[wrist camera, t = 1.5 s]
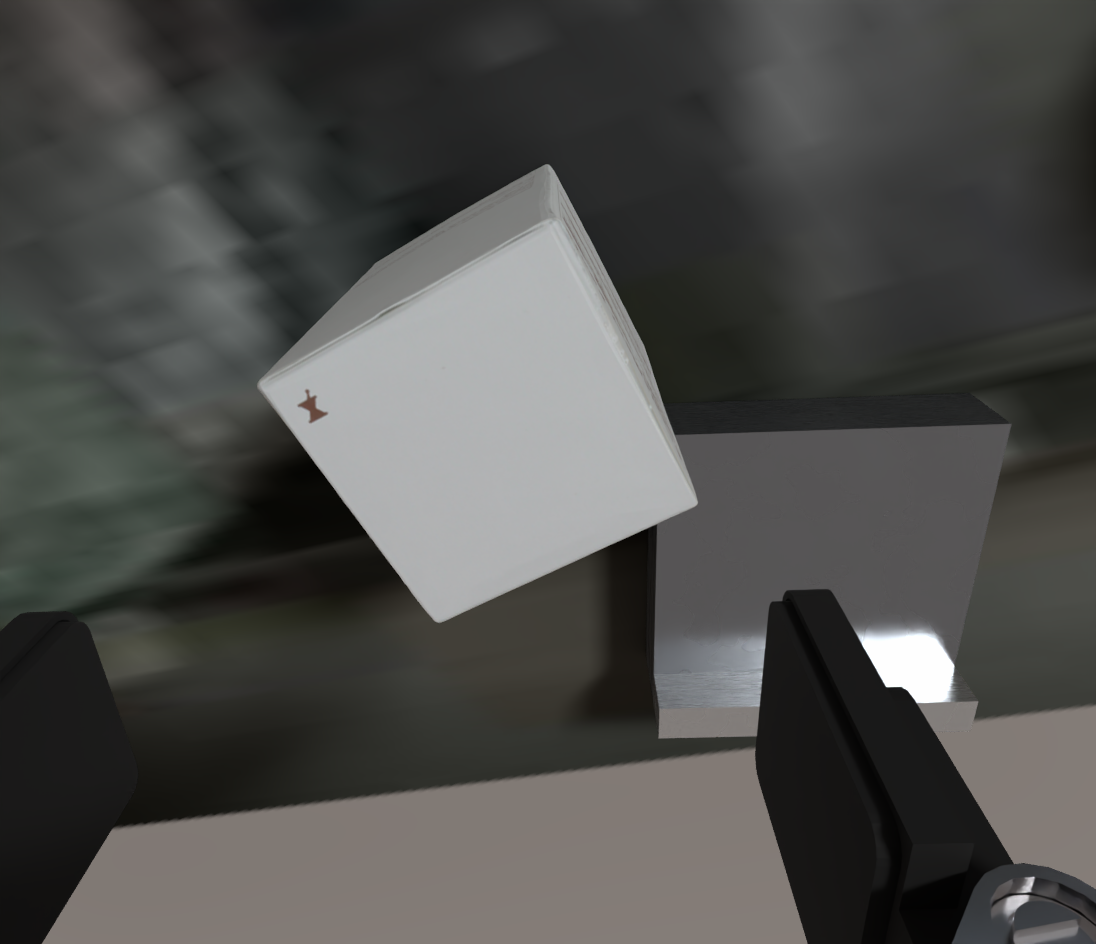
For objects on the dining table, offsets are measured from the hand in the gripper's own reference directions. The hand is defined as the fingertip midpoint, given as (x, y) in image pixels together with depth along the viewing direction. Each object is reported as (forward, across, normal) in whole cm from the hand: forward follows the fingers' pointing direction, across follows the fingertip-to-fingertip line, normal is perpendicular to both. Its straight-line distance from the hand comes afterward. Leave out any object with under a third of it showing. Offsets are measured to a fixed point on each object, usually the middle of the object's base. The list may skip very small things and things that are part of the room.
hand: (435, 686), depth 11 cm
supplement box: (+20, 0, -1) cm, 20 cm away
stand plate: (+20, -11, +9) cm, 24 cm away
